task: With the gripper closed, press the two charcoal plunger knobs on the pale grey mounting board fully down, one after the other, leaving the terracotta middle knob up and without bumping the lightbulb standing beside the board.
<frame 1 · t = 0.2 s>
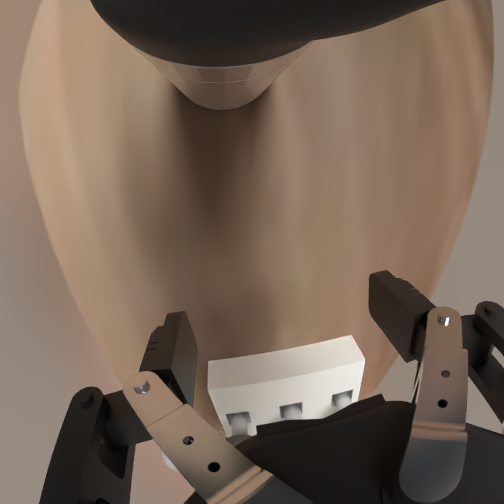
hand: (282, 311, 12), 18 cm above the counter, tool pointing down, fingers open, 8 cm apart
charcoal knob 2: (348, 413, 31), point 8 cm above the counter, slide at 0.0 cm
mounting board: (284, 383, 38), on the counter
middle terracotta knob: (295, 426, 31), point 8 cm above the counter, slide at 0.0 cm
lightbulb: (184, 410, 40), on the counter
charcoal knob 1: (240, 435, 31), point 8 cm above the counter, slide at 0.0 cm
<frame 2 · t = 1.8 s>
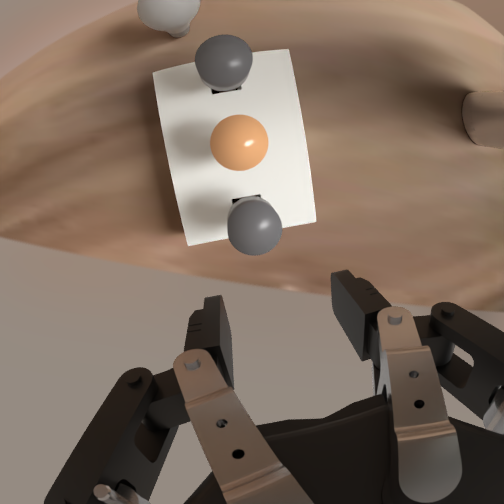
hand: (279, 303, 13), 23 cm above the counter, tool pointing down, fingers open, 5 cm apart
charcoal knob 2: (250, 217, 27), point 8 cm above the counter, slide at 0.0 cm
mounting board: (235, 144, 32), on the counter
middle terracotta knob: (237, 143, 25), point 8 cm above the counter, slide at 0.0 cm
lightbulb: (180, 31, 26), on the counter
charcoal knob 1: (224, 71, 22), point 8 cm above the counter, slide at 0.0 cm
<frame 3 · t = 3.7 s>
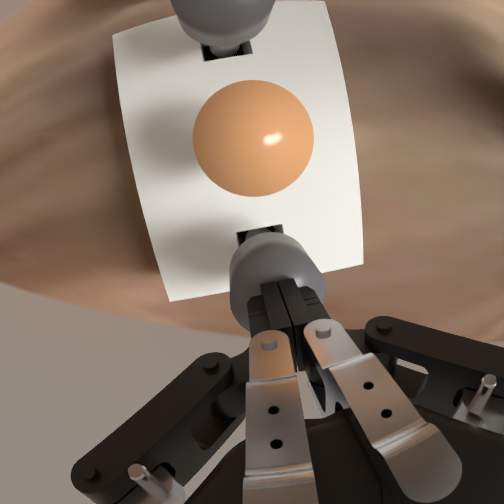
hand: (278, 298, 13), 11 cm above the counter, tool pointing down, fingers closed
charcoal knob 2: (267, 262, 17), point 7 cm above the counter, slide at 0.7 cm, touching gripper
mounting board: (240, 142, 21), on the counter
middle terracotta knob: (246, 140, 14), point 8 cm above the counter, slide at 0.0 cm
charcoal knob 1: (224, 19, 11), point 8 cm above the counter, slide at 0.0 cm
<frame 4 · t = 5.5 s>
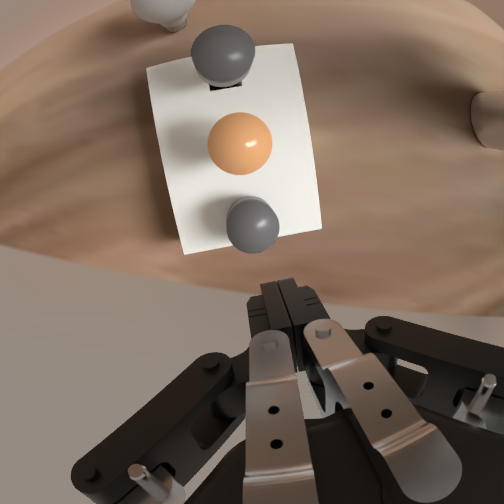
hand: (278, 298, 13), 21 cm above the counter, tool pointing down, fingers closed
charcoal knob 2: (249, 216, 28), point 5 cm above the counter, slide at 3.0 cm
mounting board: (234, 145, 30), on the counter
middle terracotta knob: (237, 144, 23), point 8 cm above the counter, slide at 0.0 cm
lightbulb: (176, 26, 24), on the counter
charcoal knob 1: (223, 66, 20), point 8 cm above the counter, slide at 0.0 cm
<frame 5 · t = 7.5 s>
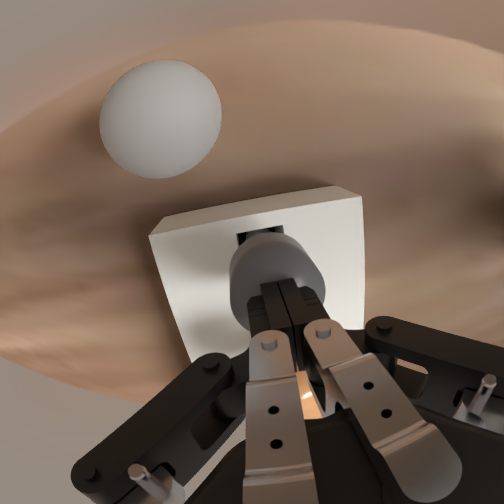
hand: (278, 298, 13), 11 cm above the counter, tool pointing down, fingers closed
mounting board: (268, 303, 26), on the counter
middle terracotta knob: (283, 360, 19), point 8 cm above the counter, slide at 0.0 cm
lightbulb: (184, 128, 20), on the counter
charcoal knob 1: (266, 262, 17), point 7 cm above the counter, slide at 0.9 cm, touching gripper
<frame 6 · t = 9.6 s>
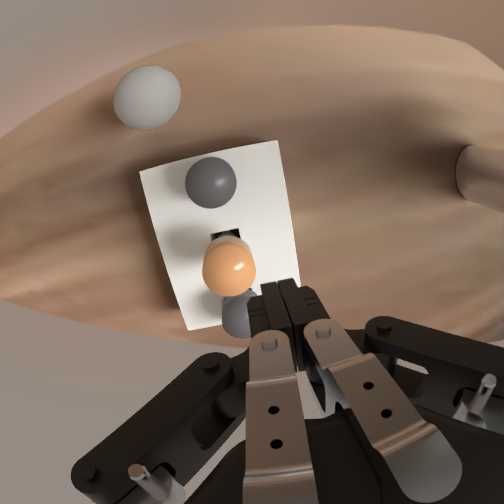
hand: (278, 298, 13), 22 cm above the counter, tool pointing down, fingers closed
charcoal knob 2: (240, 300, 33), point 5 cm above the counter, slide at 3.0 cm
mounting board: (226, 231, 35), on the counter
middle terracotta knob: (227, 254, 28), point 8 cm above the counter, slide at 0.0 cm
lightbulb: (164, 108, 29), on the counter
charcoal knob 1: (212, 178, 28), point 5 cm above the counter, slide at 3.0 cm
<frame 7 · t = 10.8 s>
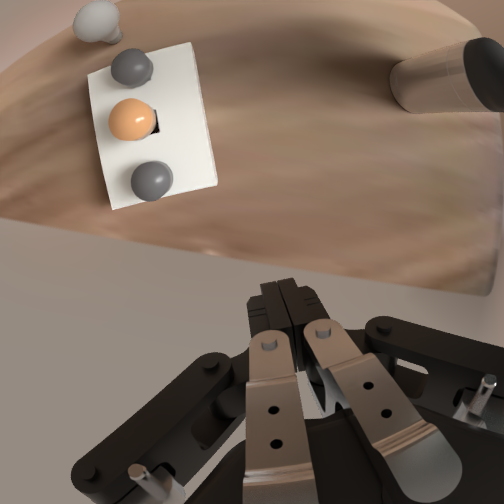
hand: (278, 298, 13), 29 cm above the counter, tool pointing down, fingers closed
charcoal knob 2: (157, 177, 34), point 5 cm above the counter, slide at 3.0 cm
mounting board: (155, 126, 35), on the counter
middle terracotta knob: (140, 122, 28), point 8 cm above the counter, slide at 0.0 cm
lightbulb: (116, 39, 30), on the counter
charcoal knob 1: (138, 73, 29), point 5 cm above the counter, slide at 3.0 cm
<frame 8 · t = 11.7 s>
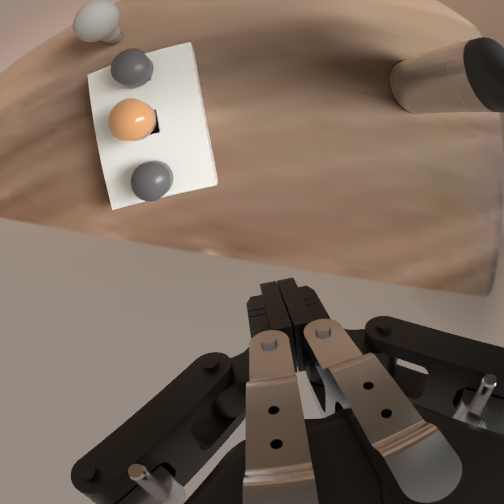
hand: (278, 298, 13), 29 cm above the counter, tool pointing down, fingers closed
charcoal knob 2: (157, 177, 34), point 5 cm above the counter, slide at 3.0 cm
mounting board: (155, 126, 35), on the counter
middle terracotta knob: (140, 122, 28), point 8 cm above the counter, slide at 0.0 cm
lightbulb: (116, 39, 30), on the counter
charcoal knob 1: (138, 73, 29), point 5 cm above the counter, slide at 3.0 cm
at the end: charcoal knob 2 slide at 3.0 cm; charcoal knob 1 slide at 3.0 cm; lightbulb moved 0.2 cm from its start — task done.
